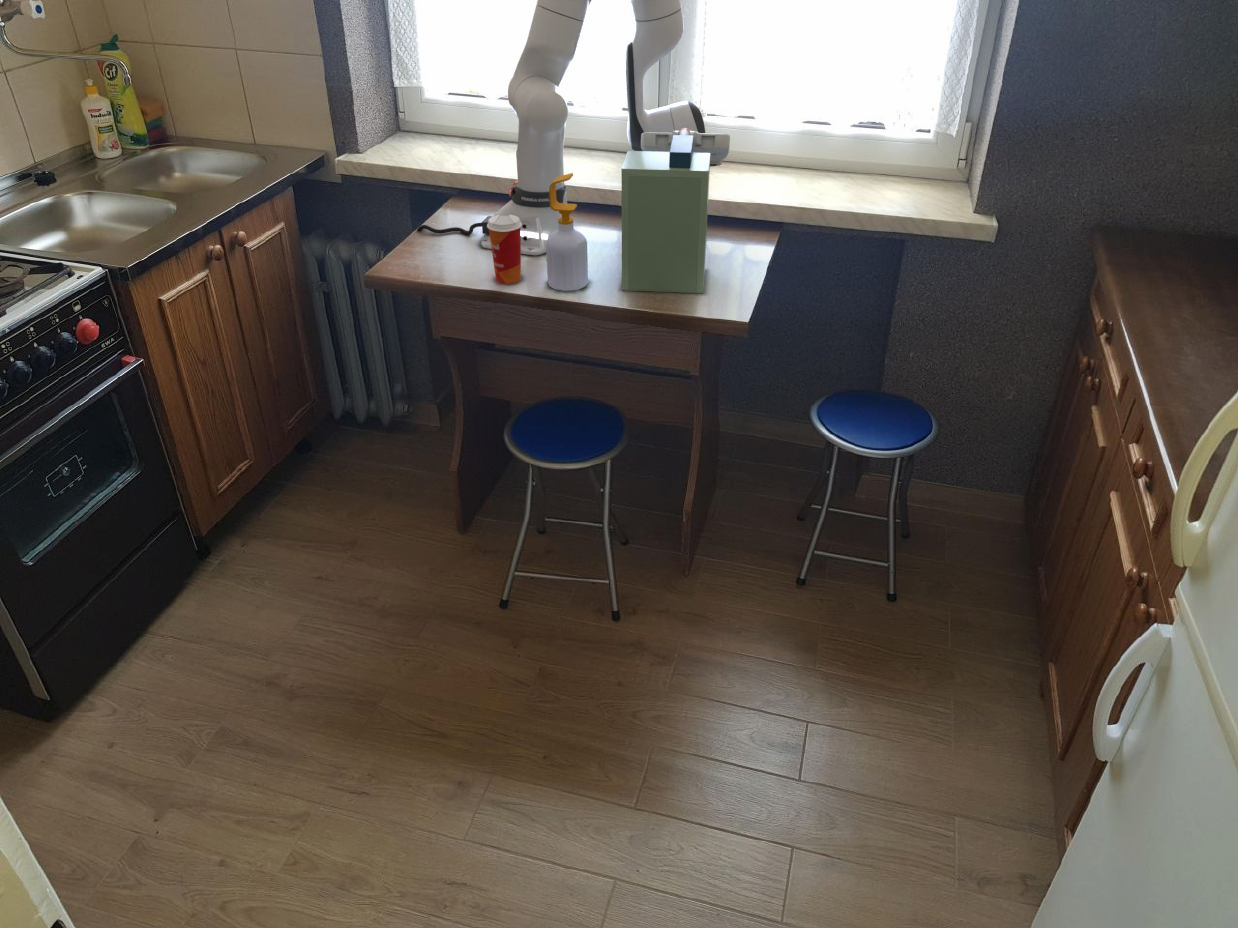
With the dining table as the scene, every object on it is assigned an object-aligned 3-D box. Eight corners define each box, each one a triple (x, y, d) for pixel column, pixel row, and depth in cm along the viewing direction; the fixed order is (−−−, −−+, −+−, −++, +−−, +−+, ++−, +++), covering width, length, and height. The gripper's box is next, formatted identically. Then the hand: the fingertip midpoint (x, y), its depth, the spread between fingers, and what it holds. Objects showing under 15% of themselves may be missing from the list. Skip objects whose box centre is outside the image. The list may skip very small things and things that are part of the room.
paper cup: (492, 273, 221) (486, 214, 213) (525, 272, 221) (521, 213, 213) (491, 286, 214) (485, 226, 206) (525, 285, 215) (521, 225, 207)
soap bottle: (583, 293, 211) (579, 182, 197) (543, 290, 213) (537, 180, 199) (592, 277, 218) (589, 170, 205) (553, 274, 220) (548, 167, 206)
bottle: (674, 140, 215) (675, 126, 213) (694, 141, 214) (695, 126, 212) (669, 167, 198) (669, 152, 196) (690, 168, 197) (691, 152, 195)
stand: (627, 267, 223) (627, 150, 208) (704, 270, 221) (710, 153, 206) (621, 290, 212) (621, 168, 197) (702, 293, 211) (708, 171, 196)
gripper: (642, 136, 225) (638, 119, 212) (729, 138, 224) (731, 121, 210) (641, 163, 226) (636, 148, 212) (728, 165, 224) (729, 150, 210)
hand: (684, 134), depth 211 cm, fingers closed on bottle, 2 cm apart
